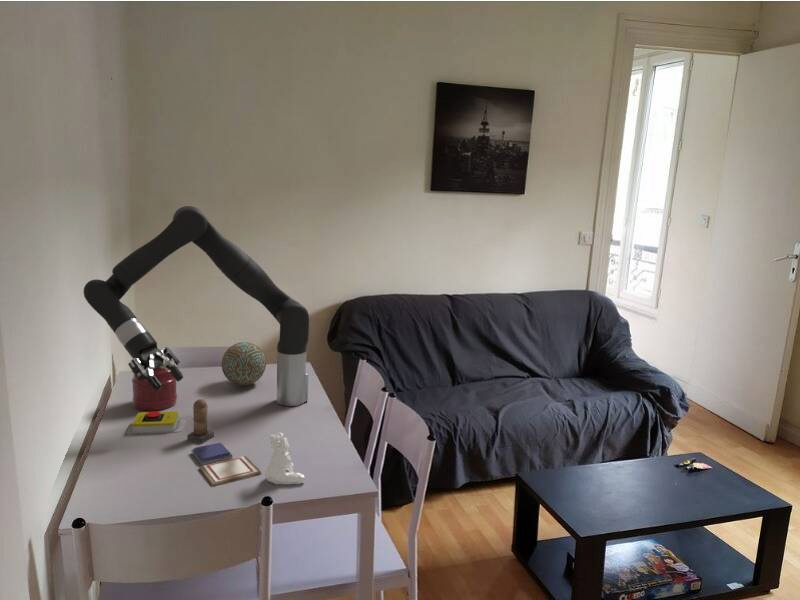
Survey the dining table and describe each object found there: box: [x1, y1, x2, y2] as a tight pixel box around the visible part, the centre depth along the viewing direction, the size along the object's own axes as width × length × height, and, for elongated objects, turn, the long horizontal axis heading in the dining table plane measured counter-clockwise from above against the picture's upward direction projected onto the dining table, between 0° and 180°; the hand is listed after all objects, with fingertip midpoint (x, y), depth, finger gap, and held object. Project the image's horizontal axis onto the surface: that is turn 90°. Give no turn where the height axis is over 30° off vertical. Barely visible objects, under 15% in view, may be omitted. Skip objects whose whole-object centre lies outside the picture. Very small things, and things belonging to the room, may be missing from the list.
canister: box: [131, 359, 178, 412], centre depth 189 cm, size 13×13×18 cm
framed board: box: [198, 455, 262, 487], centre depth 150 cm, size 12×10×1 cm
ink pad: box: [190, 442, 233, 466], centre depth 158 cm, size 8×8×2 cm
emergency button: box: [126, 410, 187, 435], centre depth 174 cm, size 9×4×15 cm
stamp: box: [186, 399, 215, 444], centre depth 167 cm, size 5×5×11 cm
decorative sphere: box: [221, 341, 267, 386], centre depth 212 cm, size 15×15×15 cm
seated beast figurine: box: [264, 431, 306, 485], centre depth 147 cm, size 10×9×12 cm
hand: (170, 383), depth 169 cm, fingers open, 8 cm apart
